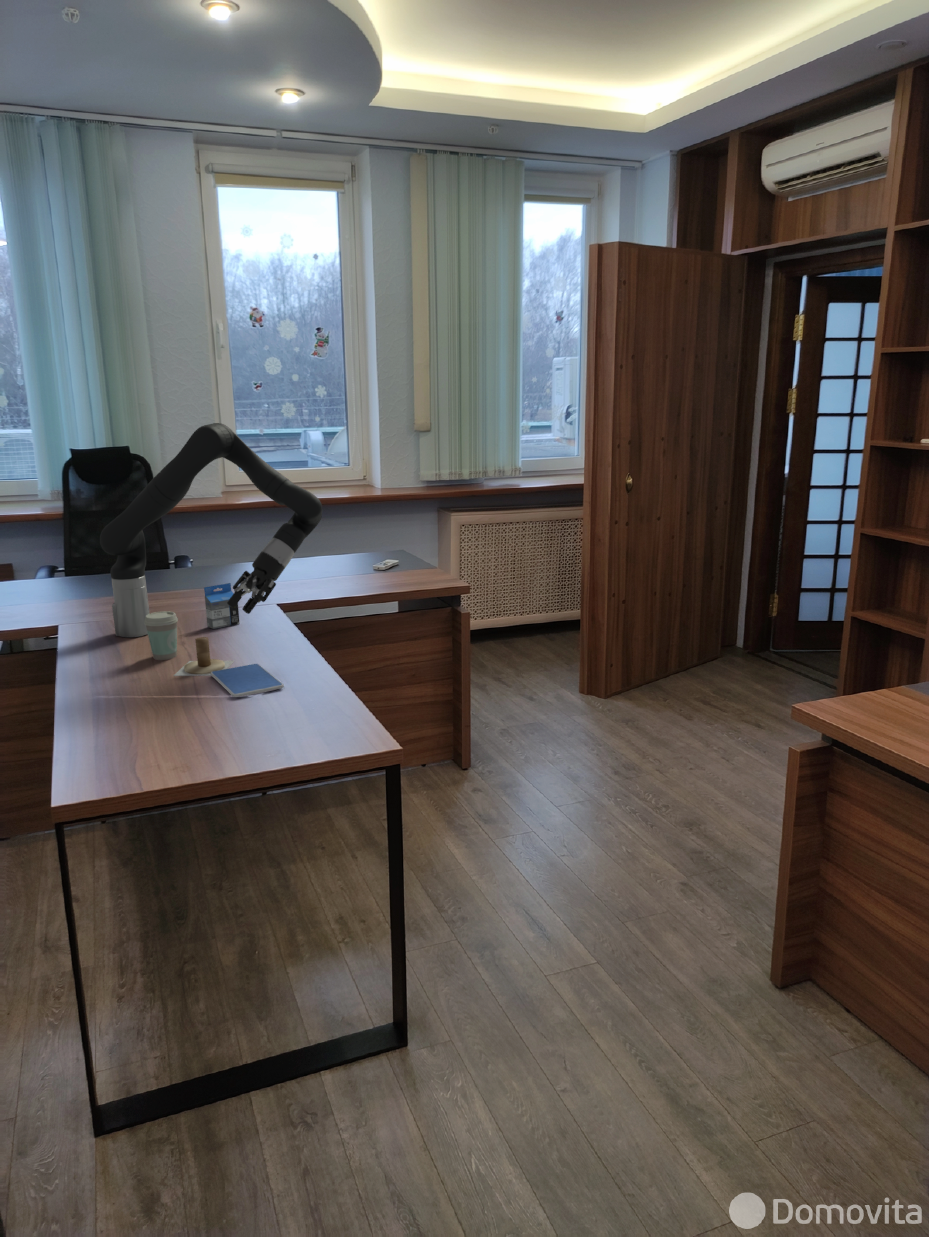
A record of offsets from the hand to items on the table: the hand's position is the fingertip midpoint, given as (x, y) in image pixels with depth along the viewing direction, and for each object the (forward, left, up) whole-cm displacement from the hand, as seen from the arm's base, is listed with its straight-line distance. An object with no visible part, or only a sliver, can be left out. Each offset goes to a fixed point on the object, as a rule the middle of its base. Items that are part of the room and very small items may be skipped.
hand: (237, 608), depth 228 cm
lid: (-8, -7, -14) cm, 17 cm away
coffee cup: (-22, +3, -14) cm, 26 cm away
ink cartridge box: (-16, +35, -14) cm, 41 cm away
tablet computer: (+6, -18, -14) cm, 24 cm away
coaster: (-8, -7, -14) cm, 18 cm away
